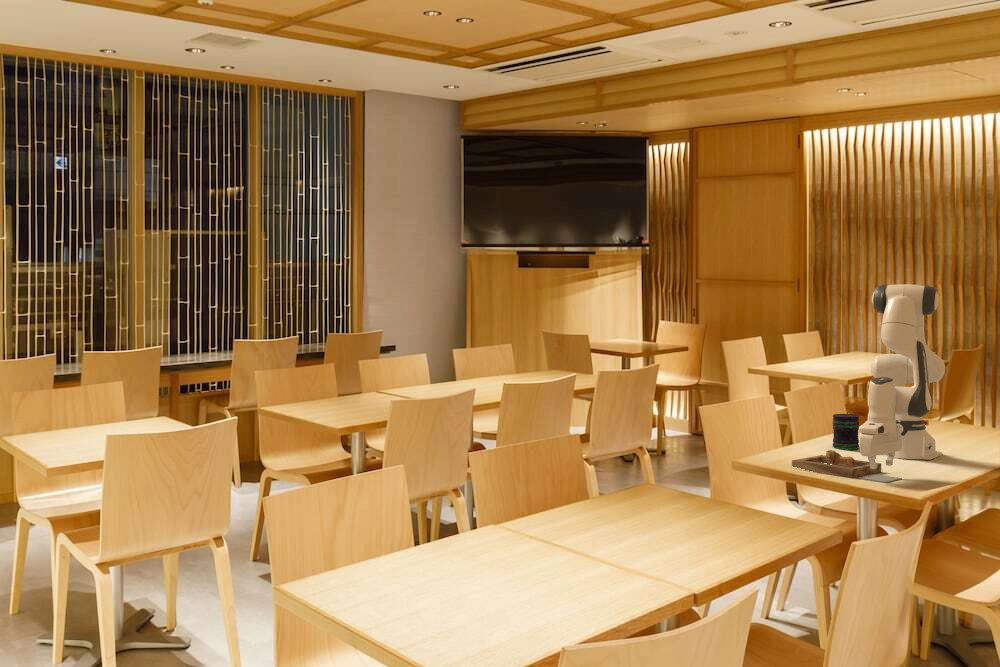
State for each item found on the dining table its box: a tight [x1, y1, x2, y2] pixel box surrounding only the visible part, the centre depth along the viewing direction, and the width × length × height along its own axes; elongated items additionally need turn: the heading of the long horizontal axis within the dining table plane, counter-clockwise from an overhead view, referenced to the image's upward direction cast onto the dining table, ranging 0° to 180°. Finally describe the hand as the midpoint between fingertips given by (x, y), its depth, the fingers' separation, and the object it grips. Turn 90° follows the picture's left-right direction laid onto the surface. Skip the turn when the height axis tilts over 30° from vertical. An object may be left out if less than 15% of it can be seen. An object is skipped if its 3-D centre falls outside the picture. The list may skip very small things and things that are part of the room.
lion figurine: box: [825, 449, 857, 468], centre depth 337 cm, size 12×4×7 cm, turn 59°
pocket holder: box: [791, 454, 882, 479], centre depth 339 cm, size 18×24×3 cm
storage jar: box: [832, 413, 860, 451], centre depth 376 cm, size 10×10×15 cm
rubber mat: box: [857, 473, 903, 484], centre depth 322 cm, size 10×10×1 cm
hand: (881, 467), depth 322 cm, fingers open, 8 cm apart
